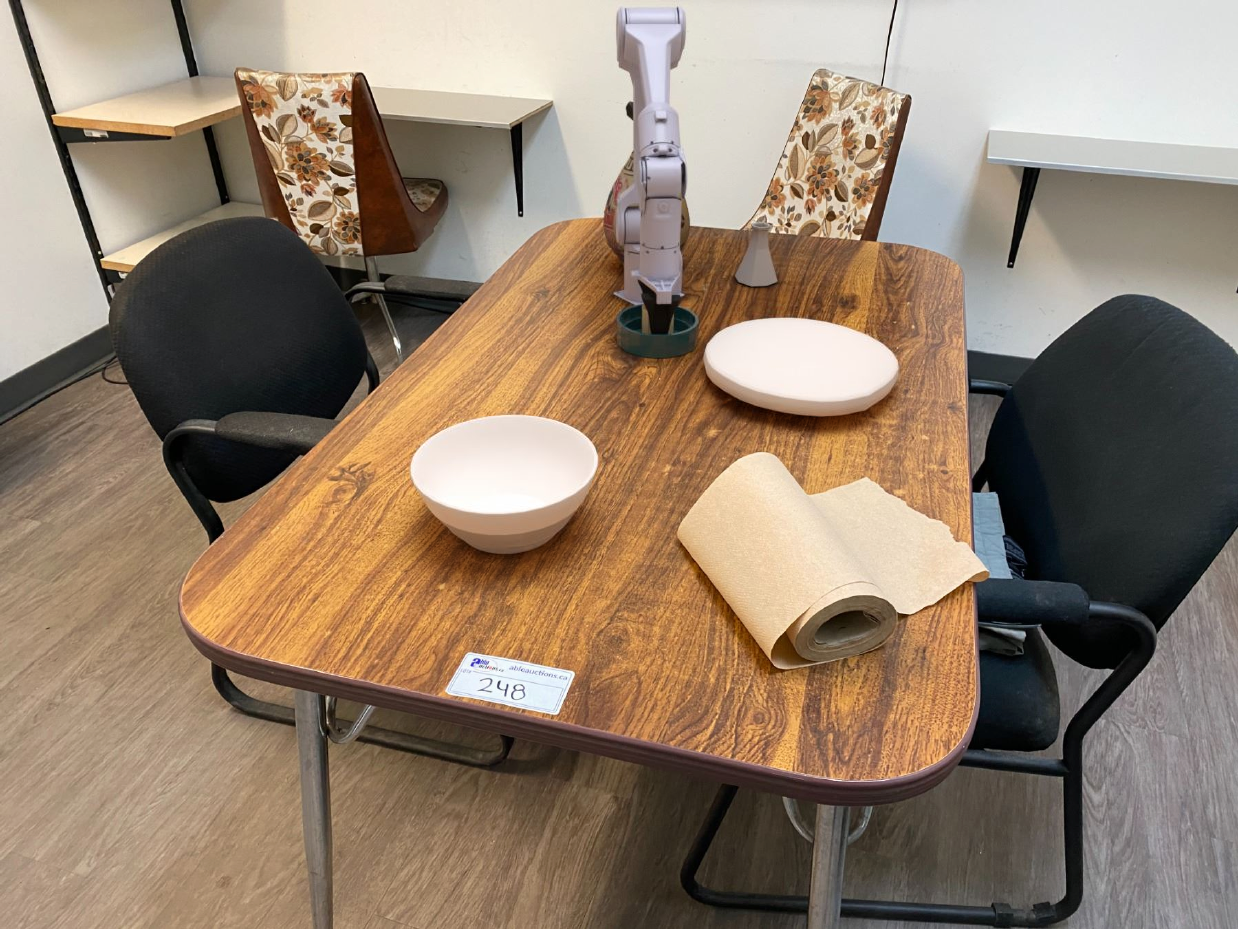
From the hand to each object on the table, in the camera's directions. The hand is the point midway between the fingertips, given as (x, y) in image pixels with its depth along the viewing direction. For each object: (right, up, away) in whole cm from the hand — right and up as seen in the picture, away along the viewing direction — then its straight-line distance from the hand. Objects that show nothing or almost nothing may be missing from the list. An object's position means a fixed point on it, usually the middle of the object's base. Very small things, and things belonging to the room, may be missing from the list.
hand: (657, 330), depth 137 cm
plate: (+19, -9, -9) cm, 23 cm away
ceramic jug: (-1, +15, +29) cm, 33 cm away
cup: (0, -1, +1) cm, 2 cm away
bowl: (-18, -27, -38) cm, 50 cm away
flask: (+18, +12, +24) cm, 33 cm away
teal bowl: (0, -2, +1) cm, 2 cm away
